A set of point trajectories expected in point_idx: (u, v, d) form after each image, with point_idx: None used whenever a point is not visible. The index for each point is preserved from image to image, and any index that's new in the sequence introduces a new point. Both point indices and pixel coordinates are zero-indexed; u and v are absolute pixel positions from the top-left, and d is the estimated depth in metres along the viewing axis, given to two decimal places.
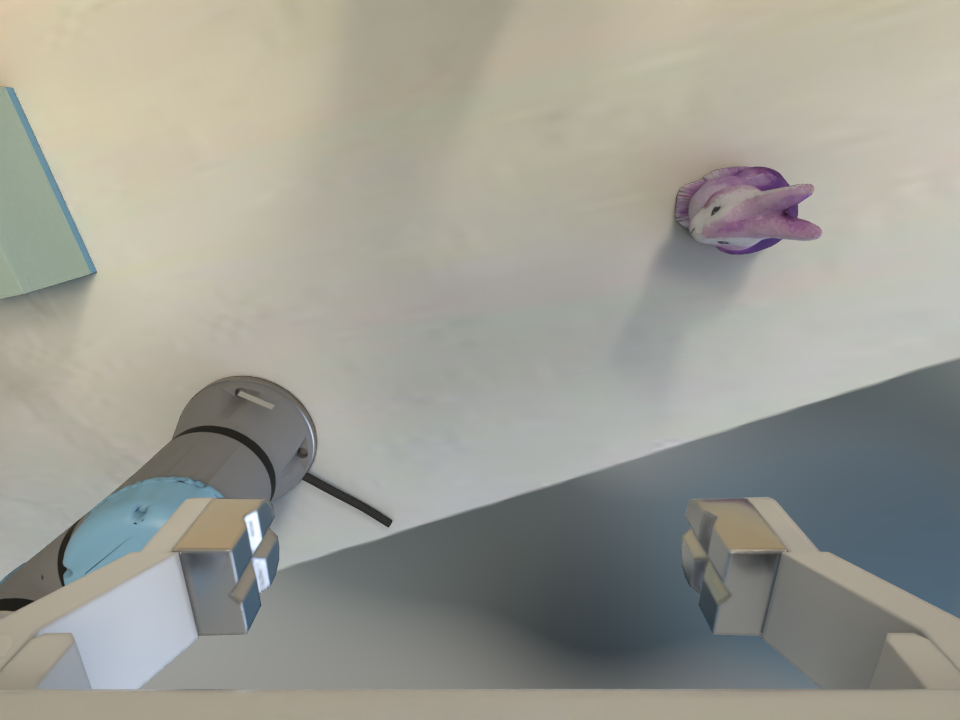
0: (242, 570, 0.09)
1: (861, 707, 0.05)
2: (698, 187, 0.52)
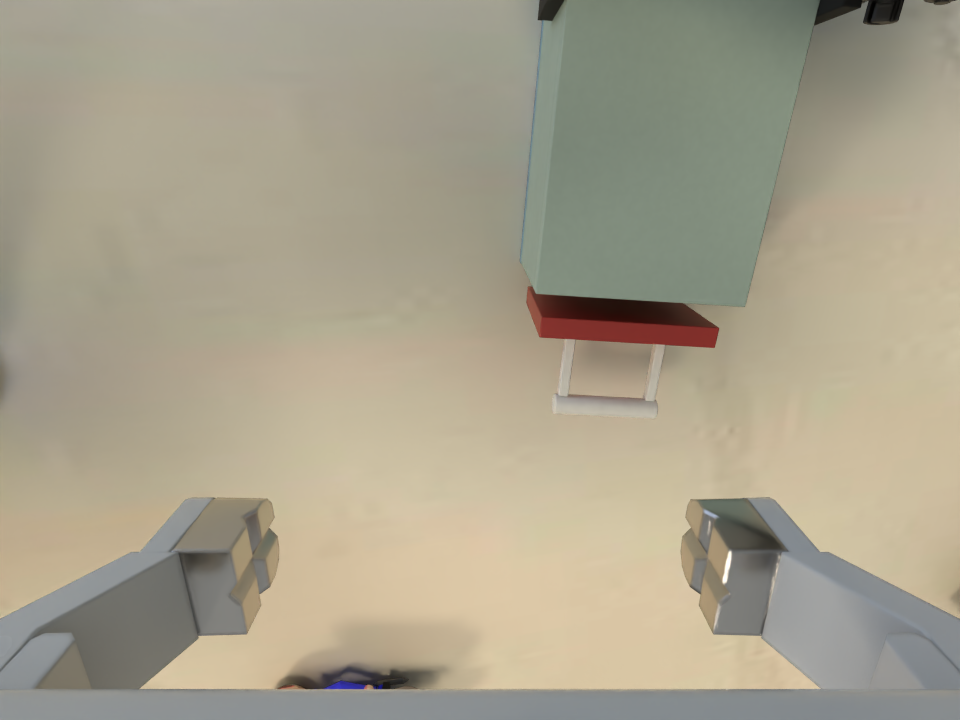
0: (242, 570, 0.09)
1: (861, 707, 0.05)
2: None
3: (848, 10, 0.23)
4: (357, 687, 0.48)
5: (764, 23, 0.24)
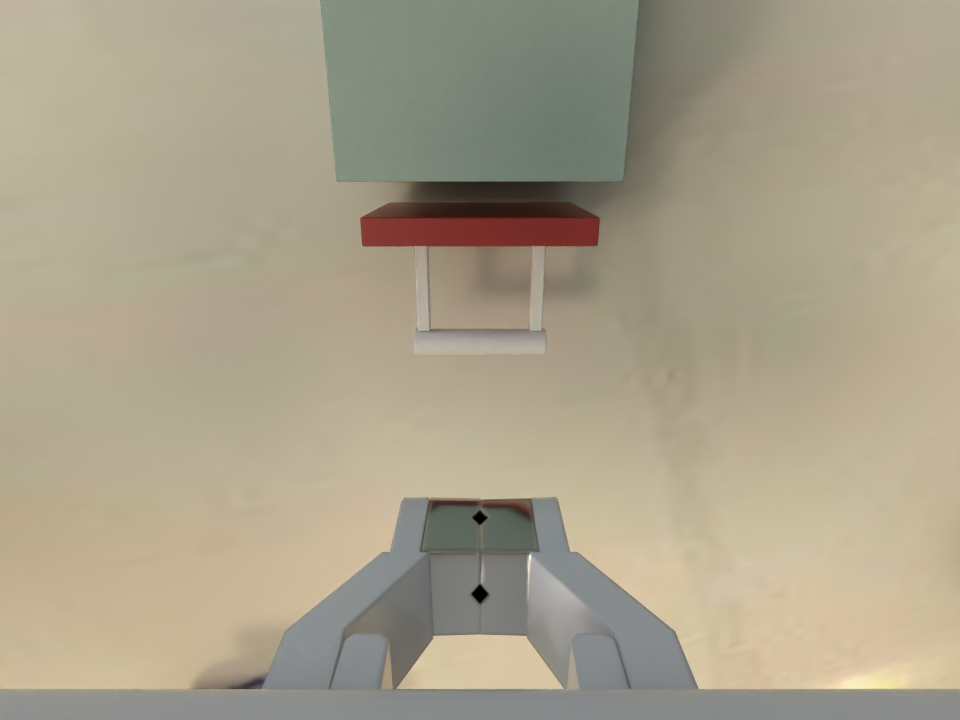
0: None
1: (861, 707, 0.05)
2: None
3: None
4: None
5: None
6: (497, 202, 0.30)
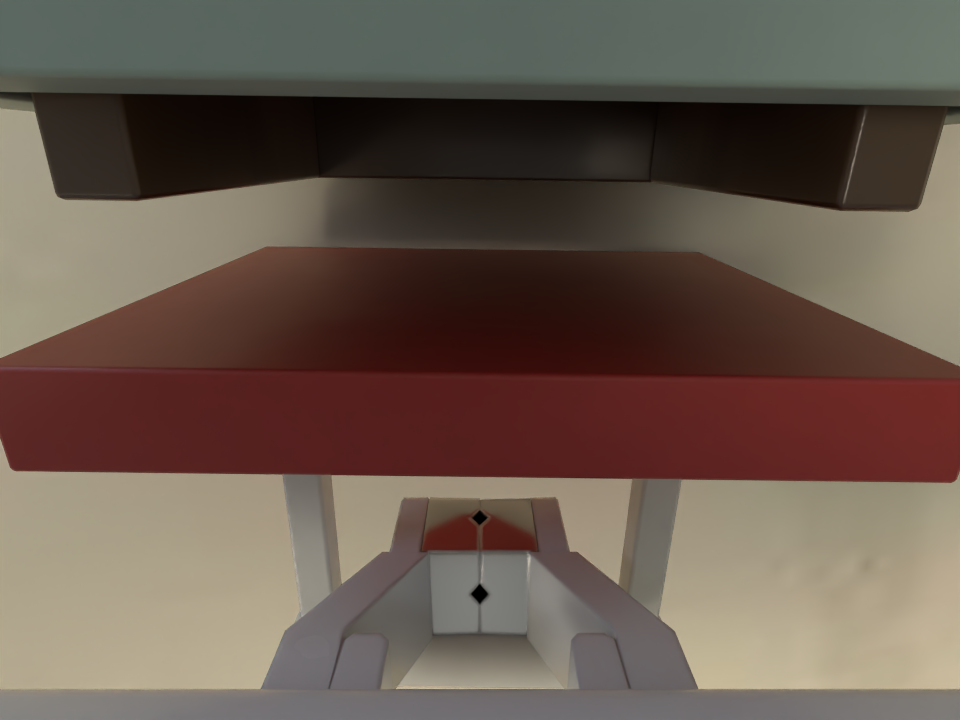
0: None
1: (861, 707, 0.05)
2: None
3: None
4: None
5: None
6: (525, 250, 0.12)
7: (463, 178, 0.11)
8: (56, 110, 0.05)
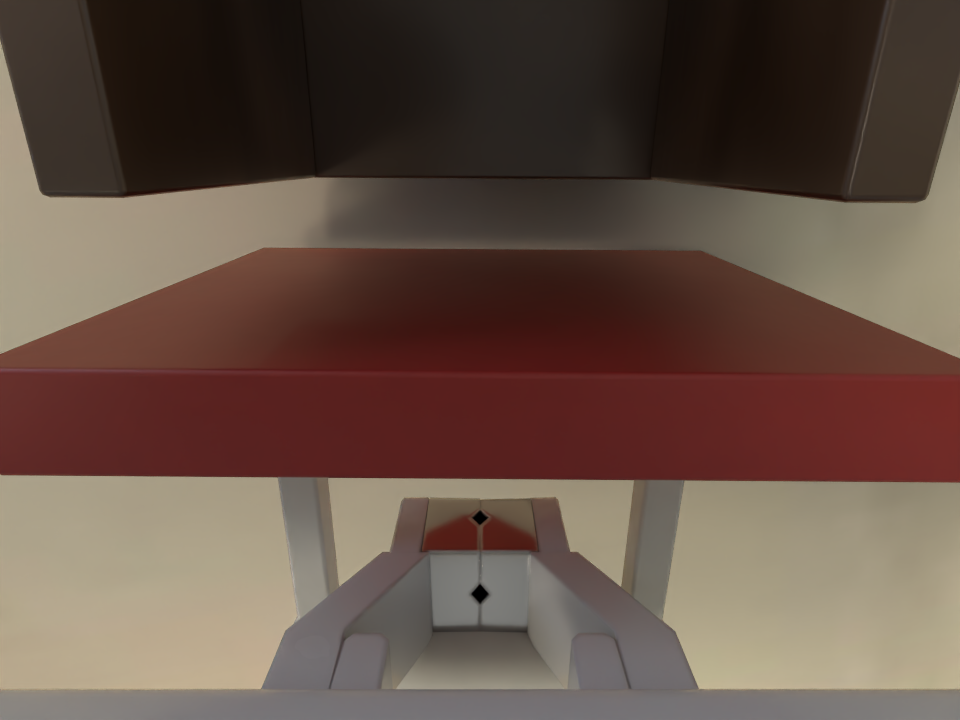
0: None
1: (861, 707, 0.05)
2: None
3: None
4: None
5: None
6: None
7: (461, 177, 0.11)
8: (39, 105, 0.05)
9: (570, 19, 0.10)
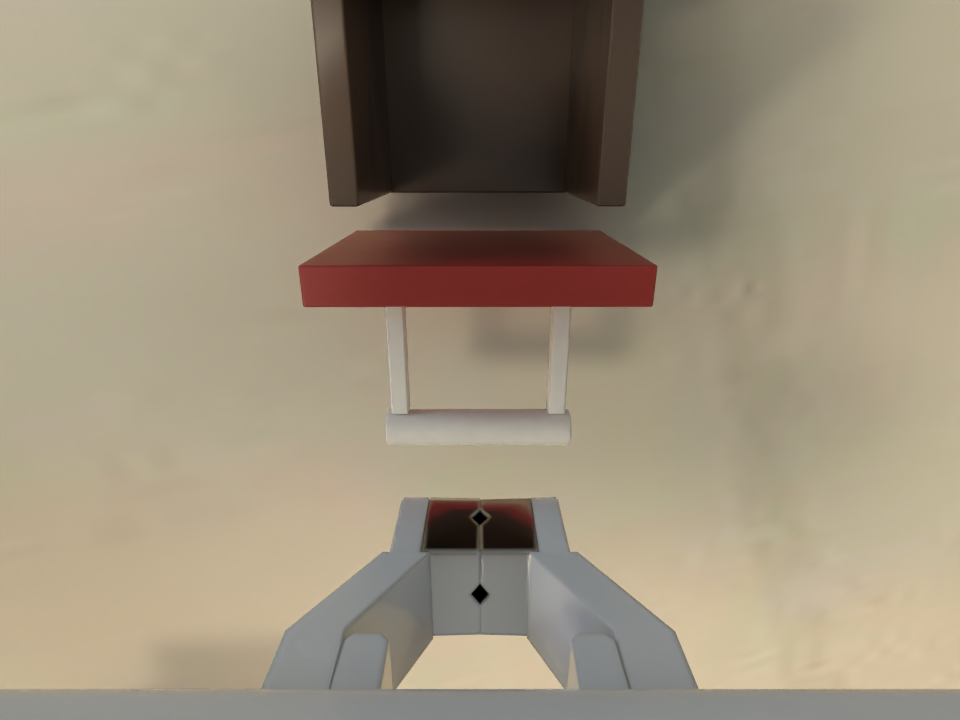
0: None
1: (861, 707, 0.05)
2: None
3: None
4: None
5: None
6: None
7: (467, 191, 0.21)
8: (335, 177, 0.15)
9: (520, 114, 0.20)
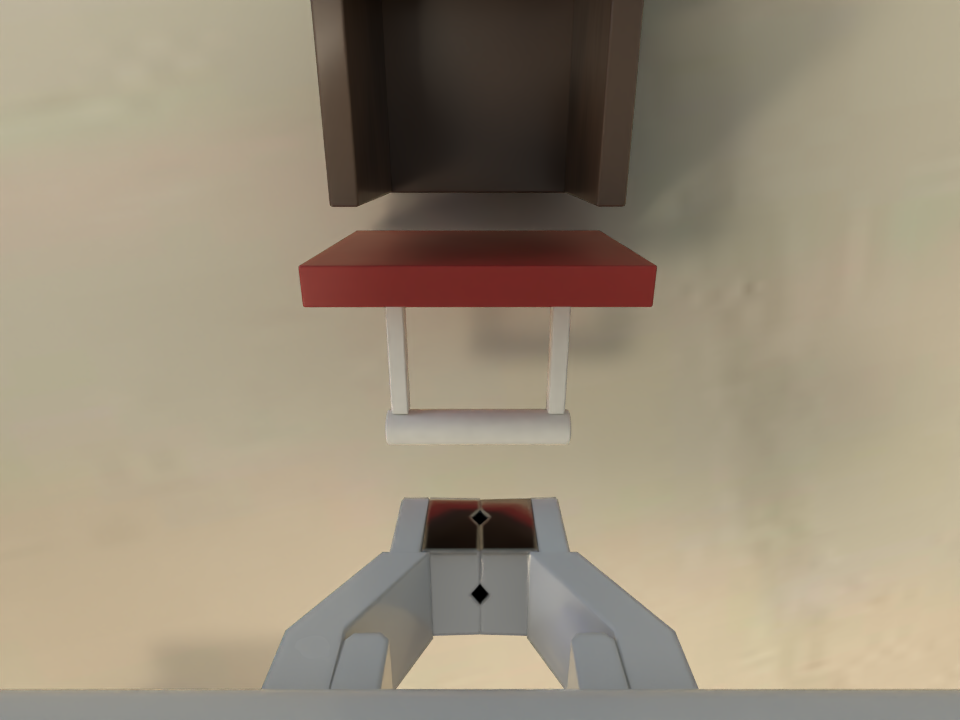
0: None
1: (861, 707, 0.05)
2: None
3: None
4: None
5: None
6: None
7: (466, 192, 0.21)
8: (335, 177, 0.15)
9: (520, 114, 0.20)
